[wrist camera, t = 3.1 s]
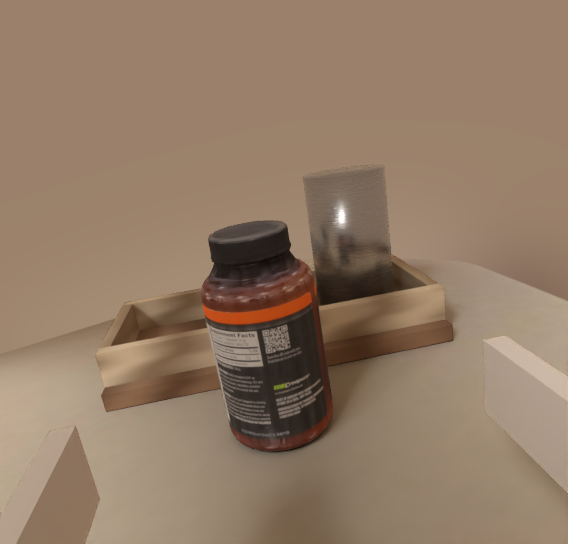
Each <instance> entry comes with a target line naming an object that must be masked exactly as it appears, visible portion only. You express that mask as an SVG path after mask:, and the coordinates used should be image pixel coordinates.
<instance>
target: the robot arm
mask: <svg viewBox="0 0 568 544" xmlns="http://www.w3.org/2000/svg"><path fill="white" fill-rule="evenodd" d="M483 344H484V388H485V412H486V413H487V414H488V415H489V416H490V417H491V418H492V419H493V420H494V421H495V422H496V423H497V424H498V425H499V426H500V427H501V428H502V429H503V430H504V431H505V432H506V433H507V434H508V435H509V436H510V437H511V438H512V439H513V440H514V441H515V442H516V443H517V444H518V445H519V446H520V447H521V448H522V449H523V450H524V451H525V452H526V453H527V454H528V455H529V456H530V457H531V458H532V459H533V460H534V461H535V462H536V463H537V464H538V465H539V466H540V467H541V468H542V469H543V470H544V471H545V472H546V473H547V474H548V475H549V476H550V477H552V478H553V479H554V480H555V481H556V482H557V483H558V484H559V485H560V486H561V487H562V488H563V489H564V490H565V491H566V492H567V493H568V376H566V375H565V374H563V373H562V372H560V371H559V370H557V369H555V368H554V367H552V366H551V365H549V364H548V363H546V362H545V361H543V360H542V359H540V358H539V357H537V356H536V355H534V354H533V353H531V352H530V351H528V350H527V349H525V348H523V347H522V346H520V345H519V344H517V343H516V342H514V341H513V340H511V339H510V338H508V337H507V336H500V337H495V338H490V339H486V340H483ZM99 500H100V497H99V494H98V491H97V488H96V485H95V482H94V479H93V476H92V473H91V470H90V467H89V464H88V461H87V458H86V455H85V452H84V449H83V446H82V443H81V440H80V437H79V434H78V431H77V428H76V426H71V427H66V428H62V429H57V430H52V431H49V433H48V434H47V436H46V438H45V440H44V441H43V443H42V445H41V446H40V448H39V450H38V452H37V453H36V455H35V457H34V458H33V460H32V462H31V463H30V465H29V467H28V469H27V470H26V472H25V474H24V475H23V477H22V479H21V480H20V482H19V484H18V486H17V487H16V489H15V491H14V492H13V494H12V496H11V497H10V499H9V501H8V503H7V504H6V506H5V508H4V509H3V511H2V513H1V514H0V544H85V543H86V540H87V536H88V533H89V530H90V527H91V524H92V521H93V518H94V515H95V512H96V509H97V506H98V503H99Z"/></svg>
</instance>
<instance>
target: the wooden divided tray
mask: <svg viewBox="0 0 568 544" xmlns="http://www.w3.org/2000/svg"><path fill="white" fill-rule="evenodd" d="M391 259H392V271H393V284H394V292H391V293H386V294H381V295H376V296H370V297H365V298H360V299H355V300H350V301H344V302H339V303H334V304H329V305H324V306H320V304H319V296H318V289H317V281H316V274H315V268H310V269H311V271H312V273H313V276H314V280H315V286H316V294H317V298H318V306H319V314H320V320H321V327H322V335H323V341H324V348H325V355H326V362H327V366H330V365H335V364H340V363H345V362H350V361H355V360H360V359H364V358H369V357H374V356H379V355H384V354H389V353H394V352H398V351H403V350H408V349H413V348H418V347H423V346H428V345H433V344H437V343H442V342H447V341H452V340H453V329H452V324H451V323H449V322H448V321H447V320H445V299H444V287H443V286H442V285H440V284H439V283H437V282H435V281H434V280H432V279H431V278H429V277H428V276H426V275H424V274H423V273H421V272H420V271H418V270H416V269H415V268H413V267H412V266H410V265H408V264H407V263H405V262H404V261H402V260H400V259H399V258H397V257H396V256H394V255H392V254H391ZM201 289H202V288H201ZM201 289H196V290H190V291H185V292H179V293H174V294H169V295H163V296H158V297H152V298H147V299H141V300H136V301H130V302H125V303H124V305H123V307H122V308H121V310H120V312H119V314H118V315H117V317H116V319H115V320H114V322H113V324H112V325H111V327H110V329H109V331H108V332H107V334H106V336H105V338H104V339H103V341H102V343H101V344H100V346H99V348H98V350H97V351H96V353H95V356H96V359H97V363H98V366H99V369H100V373H101V376H102V379H103V383H104V386H105V389H104V391H103V393H102V395H101V396H102V400H103V403H104V406H105V410H106V411H111V410H116V409H121V408H126V407H131V406H136V405H140V404H145V403H150V402H155V401H160V400H165V399H170V398H175V397H179V396H184V395H189V394H194V393H199V392H204V391H209V390H213V389H218V388H221V385H220V381H219V376H218V372H217V367H216V363H215V359H214V355H213V350H212V346H211V341H210V337H209V332H208V328H207V324H206V320H205V313H204V309H203V305H202V298H201Z"/></svg>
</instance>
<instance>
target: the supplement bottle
mask: <svg viewBox="0 0 568 544" xmlns="http://www.w3.org/2000/svg"><path fill="white" fill-rule="evenodd" d="M208 241H209V246H210V252H211V259H212V262H214V266H213V268H212V271H211V273H210V275H209V276H208V278H207V279H206V280H205V281H204V283H203V285H202V289H201V298H202V305H203V309H204V313H205V320H206V324H207V328H208V332H209V337H210V341H211V346H212V350H213V355H214V359H215V363H216V367H217V372H218V376H219V381H220V385H221V390H222V395H223V399H224V403H225V408H226V412H227V416H228V419H229V422H230V427H231V430H232V432H233V434H234V436H235V437H236V439H237V440H238V441H240V442H241V443H242V444H244V445H246V446H247V447H250V448H252V449H257V450H261V451H267V452H274V451H282V450H288V449H293V448H296V447H299V446H301V445H303V444H305V443H308V442H310V441H311V440H313V439H315V438H316V437H317V436H318V435H320V434H321V433H322V432H323V431H324V429H325V428H326V427H327V425H328V423H329V421H330V419H331V416H332V412H333V407H332V396H331V389H330V383H329V376H328V369H327V362H326V355H325V348H324V341H323V335H322V327H321V320H320V314H319V306H318V298H317V294H316V286H315V280H314V276H313V273H312V271H311V269H310V268H309V266H308V265H307V264H305V263H304V262H303V261H301V260H299V259H296V258H295V257H294V256H293V255H292V253H291V252H290V251H289V250H290V247H291V243H290V241H289V235H288V228H287V225H286V224H285V223H284V222H282V221H254V222H248V223H242V224H237V225H233V226H229V227H226V228H223V229H220V230H218V231H216V232H214V233H212V234H211V235H210V236H209V238H208Z"/></svg>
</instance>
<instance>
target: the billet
mask: <svg viewBox="0 0 568 544" xmlns="http://www.w3.org/2000/svg"><path fill="white" fill-rule="evenodd" d="M303 183H304V190H305V198H306V205H307V212H308V221H309V228H310V235H311V243H312V251H313V258H314V266H315V274H316V281H317V289H318V296H319V304H320V306H324V305H329V304H334V303H339V302H344V301H350V300H355V299H360V298H365V297H370V296H376V295H381V294H386V293H391V292H394V284H393V271H392V259H391V246H390V233H389V221H388V208H387V196H386V183H385V171H384V166H383V165H363V166H352V167H345V168H338V169H332V170H326V171H320V172H316V173H312V174H308V175H305V176H303Z"/></svg>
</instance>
